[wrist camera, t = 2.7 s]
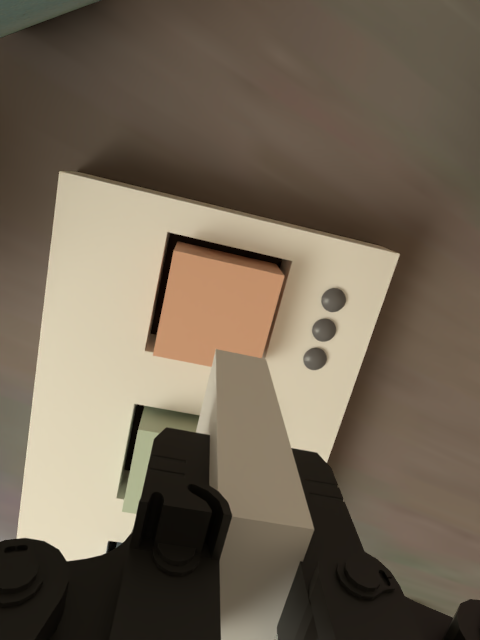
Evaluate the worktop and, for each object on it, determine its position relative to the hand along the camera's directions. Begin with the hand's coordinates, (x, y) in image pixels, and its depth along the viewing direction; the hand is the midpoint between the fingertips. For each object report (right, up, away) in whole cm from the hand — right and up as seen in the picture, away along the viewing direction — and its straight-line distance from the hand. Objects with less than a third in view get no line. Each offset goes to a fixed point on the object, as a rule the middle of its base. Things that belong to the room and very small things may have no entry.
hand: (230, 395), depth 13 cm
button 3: (-1, +3, +10) cm, 10 cm away
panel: (-3, -5, +14) cm, 15 cm away
